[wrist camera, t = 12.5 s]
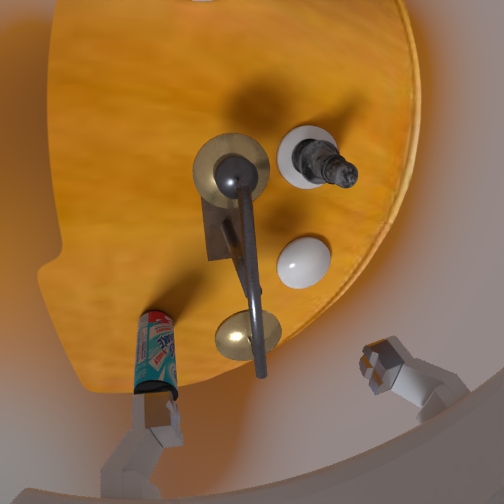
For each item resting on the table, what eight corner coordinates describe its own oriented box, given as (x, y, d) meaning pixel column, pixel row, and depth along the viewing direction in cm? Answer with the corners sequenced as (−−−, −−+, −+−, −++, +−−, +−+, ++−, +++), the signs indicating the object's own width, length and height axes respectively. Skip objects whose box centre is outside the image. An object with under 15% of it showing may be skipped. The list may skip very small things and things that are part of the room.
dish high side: (276, 240, 45) (278, 243, 44) (330, 233, 47) (333, 236, 46) (276, 289, 50) (277, 292, 49) (325, 280, 51) (327, 283, 50)
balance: (187, 130, 35) (195, 156, 18) (249, 125, 36) (316, 148, 19) (206, 301, 48) (228, 406, 30) (255, 293, 49) (296, 391, 32)
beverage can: (174, 334, 49) (180, 406, 36) (141, 335, 48) (138, 407, 35) (172, 307, 47) (176, 380, 34) (136, 308, 45) (129, 381, 32)
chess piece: (334, 144, 39) (385, 163, 29) (320, 182, 41) (365, 212, 31) (297, 130, 37) (342, 144, 27) (283, 170, 39) (321, 198, 29)
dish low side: (276, 125, 37) (278, 126, 36) (336, 125, 39) (339, 126, 38) (276, 189, 41) (278, 191, 40) (333, 185, 43) (337, 187, 42)
